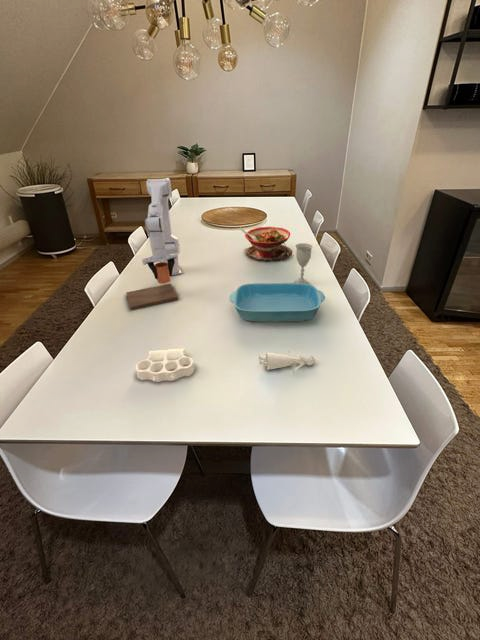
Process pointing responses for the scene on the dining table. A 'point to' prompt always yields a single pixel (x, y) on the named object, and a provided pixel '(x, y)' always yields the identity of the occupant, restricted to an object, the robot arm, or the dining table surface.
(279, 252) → the stew
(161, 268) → the tumbler
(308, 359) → the woman figurine
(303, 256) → the chalice
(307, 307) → the casserole dish
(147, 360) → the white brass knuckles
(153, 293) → the serving board
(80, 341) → the dining table surface
